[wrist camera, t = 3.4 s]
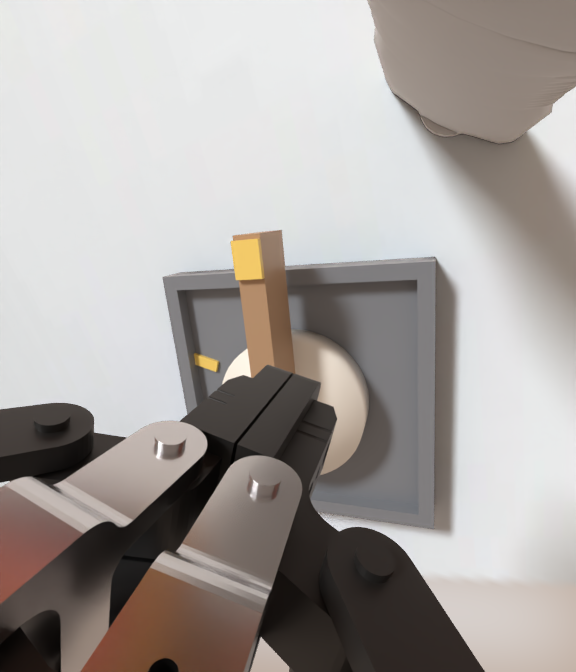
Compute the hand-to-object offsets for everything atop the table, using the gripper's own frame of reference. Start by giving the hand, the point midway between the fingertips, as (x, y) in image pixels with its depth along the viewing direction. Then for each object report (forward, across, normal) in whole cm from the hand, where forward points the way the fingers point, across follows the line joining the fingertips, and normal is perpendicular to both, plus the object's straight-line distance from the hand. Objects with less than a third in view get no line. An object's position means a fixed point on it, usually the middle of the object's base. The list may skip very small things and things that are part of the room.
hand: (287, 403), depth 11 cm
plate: (+22, +4, +12) cm, 26 cm away
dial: (+21, +5, +8) cm, 23 cm away
